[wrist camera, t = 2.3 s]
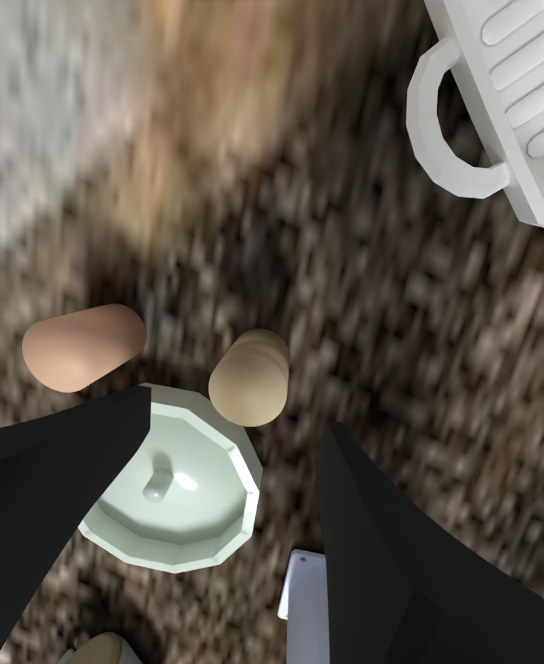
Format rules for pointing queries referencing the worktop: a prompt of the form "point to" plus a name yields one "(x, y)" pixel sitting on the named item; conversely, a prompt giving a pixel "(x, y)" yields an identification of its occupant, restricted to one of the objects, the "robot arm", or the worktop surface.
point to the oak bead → (251, 379)
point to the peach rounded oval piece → (82, 345)
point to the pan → (486, 99)
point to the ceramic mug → (102, 651)
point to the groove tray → (180, 489)
